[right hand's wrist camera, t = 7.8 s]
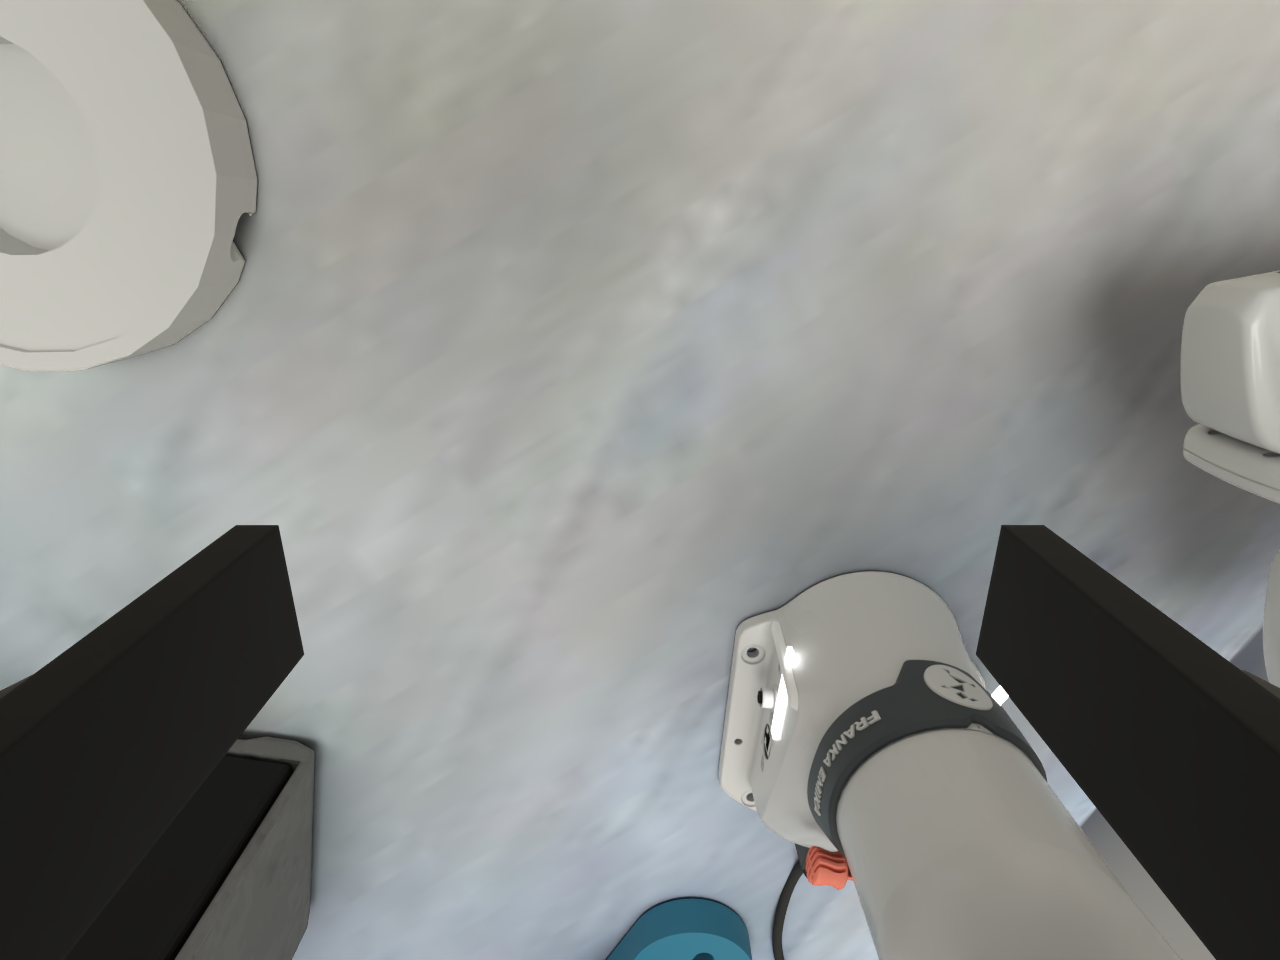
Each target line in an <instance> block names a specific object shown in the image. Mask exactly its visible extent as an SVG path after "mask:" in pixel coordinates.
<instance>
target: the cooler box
mask: <svg viewBox="0 0 1280 960" xmlns="http://www.w3.org/2000/svg"><path fill="white" fill-rule="evenodd" d="M314 760H315V752H314V751H313V750H312V749H310V748H308V747H307V746H305V745H303V744H301V743H299V742H297V741H294V740H287V739H280V738H274V737H267V736H266V737H260V738H254V739H248V740H241V739H237V740H236V742H235V743H234V744H233V745H232V747H231V748H230V749H229V751H228V752H227V753H226V754H225V756H224V757H223V758H222V759H221V761H220V762H219V763H218V765H217V766H216V767H215V768H214V770H213V771H212V772H211V773H210V775H209V776H208V777H207V778H206V780H205V781H204V782H203V784H202V785H201V786H200V787H199V789H198V790H197V791H196V792H195V794H194V795H193V796H192V798H191V799H190V800H189V801H188V803H187V804H186V805H185V806H184V808H183V809H182V810H181V812H180V813H179V814H178V815H177V817H176V818H175V819H174V820H173V822H172V823H171V824H170V825H169V827H168V828H167V829H166V831H165V832H164V833H163V834H162V836H161V837H160V838H159V839H158V841H157V842H156V843H155V845H154V846H153V847H152V848H151V850H150V851H149V852H148V853H147V855H146V856H145V857H144V859H143V860H142V861H141V862H140V864H139V865H138V866H137V867H136V869H135V870H134V871H133V872H132V874H131V875H130V876H129V878H128V879H127V880H126V881H125V883H124V884H123V885H122V886H121V888H120V889H119V890H118V892H117V893H116V894H115V895H114V897H113V898H112V899H111V900H110V902H109V903H108V904H107V905H106V907H105V908H104V909H103V911H102V912H101V913H100V914H99V916H98V917H97V918H96V919H95V921H94V922H93V923H92V925H91V926H90V927H89V928H88V930H87V931H86V932H85V933H84V935H83V936H82V937H81V939H80V940H79V941H78V942H77V944H76V945H75V946H74V947H73V949H72V950H71V951H70V952H69V954H68V955H67V956H66V958H65V959H64V960H292V958H293V956H294V954H295V952H296V950H297V948H298V945H299V943H300V941H301V939H302V937H303V935H304V933H305V931H306V929H307V925H308V918H309V912H310V893H311V860H312V826H313V793H314Z"/></svg>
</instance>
